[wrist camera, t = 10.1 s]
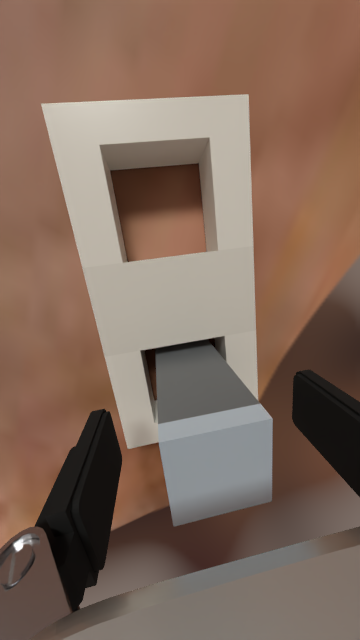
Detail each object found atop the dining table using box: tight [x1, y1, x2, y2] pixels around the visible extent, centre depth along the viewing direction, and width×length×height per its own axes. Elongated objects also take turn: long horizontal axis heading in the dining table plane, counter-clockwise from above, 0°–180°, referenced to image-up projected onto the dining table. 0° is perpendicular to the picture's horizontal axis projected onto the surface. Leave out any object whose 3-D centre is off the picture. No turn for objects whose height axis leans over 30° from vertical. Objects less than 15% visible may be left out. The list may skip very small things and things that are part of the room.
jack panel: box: [41, 94, 258, 449], centre depth 13 cm, size 10×20×2 cm, turn 7°
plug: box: [155, 339, 273, 526], centre depth 11 cm, size 4×4×9 cm
